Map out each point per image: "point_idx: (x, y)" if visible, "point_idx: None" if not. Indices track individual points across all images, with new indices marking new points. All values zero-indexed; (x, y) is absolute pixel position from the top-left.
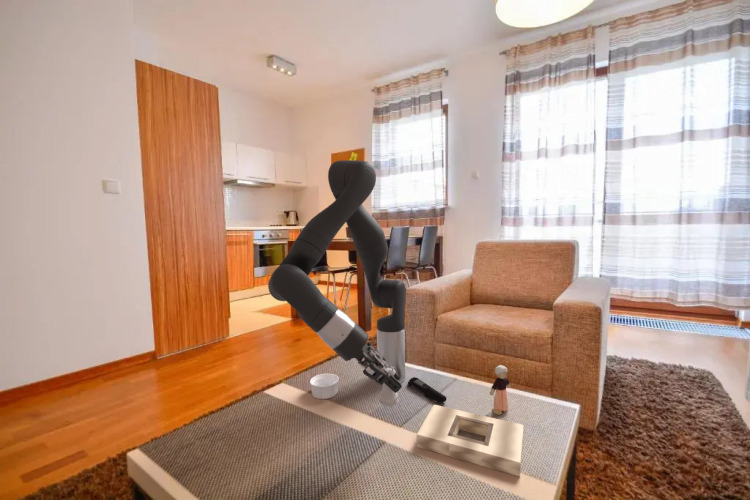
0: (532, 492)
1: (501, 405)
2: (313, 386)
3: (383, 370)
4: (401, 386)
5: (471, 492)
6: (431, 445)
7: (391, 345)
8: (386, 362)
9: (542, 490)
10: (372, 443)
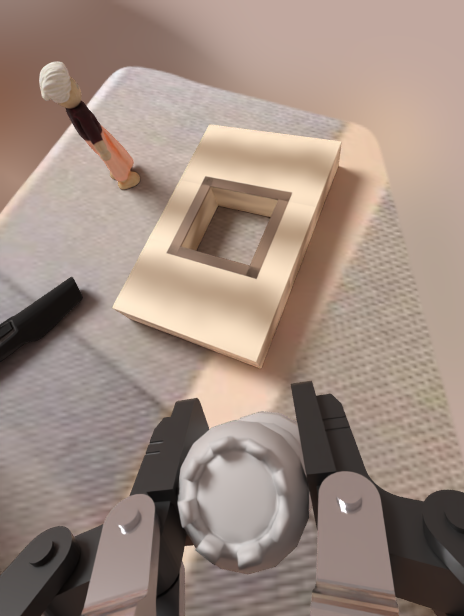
0: (378, 152)
1: (123, 162)
2: None
3: (391, 582)
4: (311, 383)
5: (404, 253)
6: (273, 327)
7: None
8: (118, 521)
9: (369, 138)
10: None
